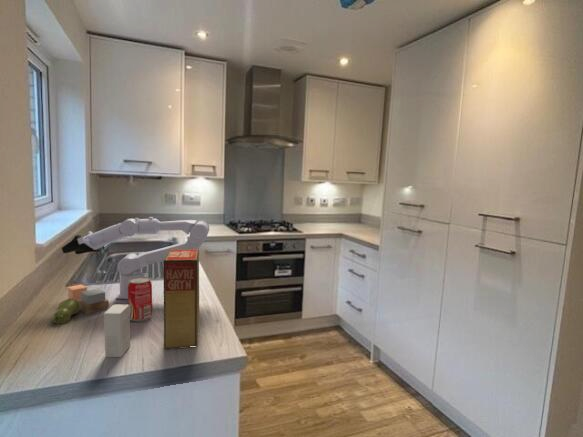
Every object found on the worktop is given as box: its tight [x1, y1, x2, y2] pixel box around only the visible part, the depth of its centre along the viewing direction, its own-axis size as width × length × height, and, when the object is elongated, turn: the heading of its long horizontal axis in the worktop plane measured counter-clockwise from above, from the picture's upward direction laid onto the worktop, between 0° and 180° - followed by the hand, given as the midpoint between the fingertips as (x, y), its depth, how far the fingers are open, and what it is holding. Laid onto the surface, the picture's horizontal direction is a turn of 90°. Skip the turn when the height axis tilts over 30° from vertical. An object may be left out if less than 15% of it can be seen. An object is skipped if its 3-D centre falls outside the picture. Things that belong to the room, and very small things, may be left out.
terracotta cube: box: [67, 284, 88, 301], centre depth 124 cm, size 4×4×4 cm
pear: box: [53, 299, 80, 324], centre depth 109 cm, size 6×5×10 cm
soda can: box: [127, 276, 153, 323], centre depth 111 cm, size 7×7×13 cm
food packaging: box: [162, 249, 200, 350], centre depth 99 cm, size 13×9×25 cm
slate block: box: [81, 288, 106, 305], centre depth 117 cm, size 6×6×3 cm
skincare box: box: [103, 304, 131, 358], centre depth 90 cm, size 6×4×12 cm
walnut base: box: [78, 298, 110, 315], centre depth 118 cm, size 7×7×3 cm
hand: (69, 251), depth 124 cm, fingers open, 7 cm apart
